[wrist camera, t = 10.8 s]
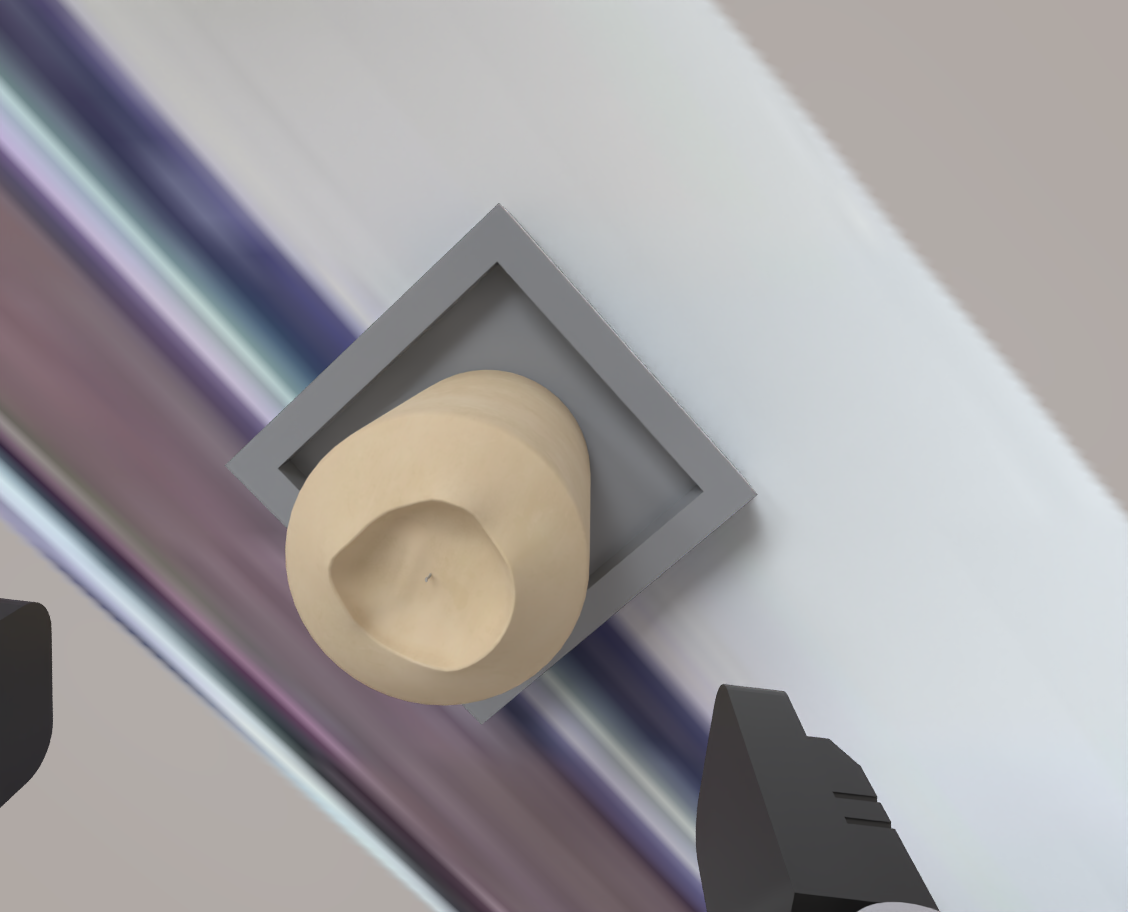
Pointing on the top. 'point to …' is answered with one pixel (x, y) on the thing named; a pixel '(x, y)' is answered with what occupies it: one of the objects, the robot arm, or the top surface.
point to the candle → (447, 541)
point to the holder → (552, 359)
